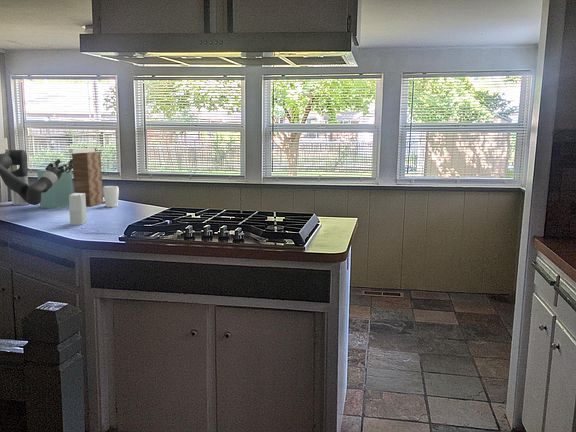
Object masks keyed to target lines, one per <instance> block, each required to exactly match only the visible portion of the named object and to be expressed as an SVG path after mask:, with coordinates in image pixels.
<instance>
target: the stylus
mask: <svg viewBox="0 0 576 432" xmlns="http://www.w3.org/2000/svg"><path fill="white" fill-rule="evenodd" d="M87 152H97V148H96V147H87V148H84V147H83V148H72V149H71V148H70V149H69V148H68V154H71V155H72V154H74V153H87Z"/></svg>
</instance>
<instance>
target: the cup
mask: <svg viewBox="0 0 576 432" xmlns="http://www.w3.org/2000/svg"><path fill="white" fill-rule="evenodd" d="M102 191H103V200H104V201H105V204H104V205H105V207H106V208H116V207H118V206H119V205H118V203H119V195H120V190H119V186H118V185H104V186H102Z"/></svg>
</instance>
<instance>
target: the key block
mask: <svg viewBox="0 0 576 432" xmlns="http://www.w3.org/2000/svg"><path fill="white" fill-rule="evenodd" d="M64 169H65V167H64ZM36 172H37V181H38V180H39V179H40V178H41V177H42V175H43V174H44V173H45V172H46V169H39V170H38V169H37V170H36ZM73 193H74V184H73V169H72V170H71V171H70V172H69V173H66V172H63V173H62V175H61V177H60V178H59V180H58V181H57V182H56V183H55V184H54V185H53V186H52V187H51V188H50V189H49V190H48V191H47V192H44V193H41V202H40V203H39V208H42V209H57V208H58V209H59V208H63V207H67V206H69V195H71V194H73Z"/></svg>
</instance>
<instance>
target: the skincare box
mask: <svg viewBox="0 0 576 432" xmlns="http://www.w3.org/2000/svg"><path fill="white" fill-rule="evenodd" d="M68 206H69V224H70V226H83V225H84V224H85V223H87V207H86V197H85V193H74V192H73V194H71V195H69V205H68Z"/></svg>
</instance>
